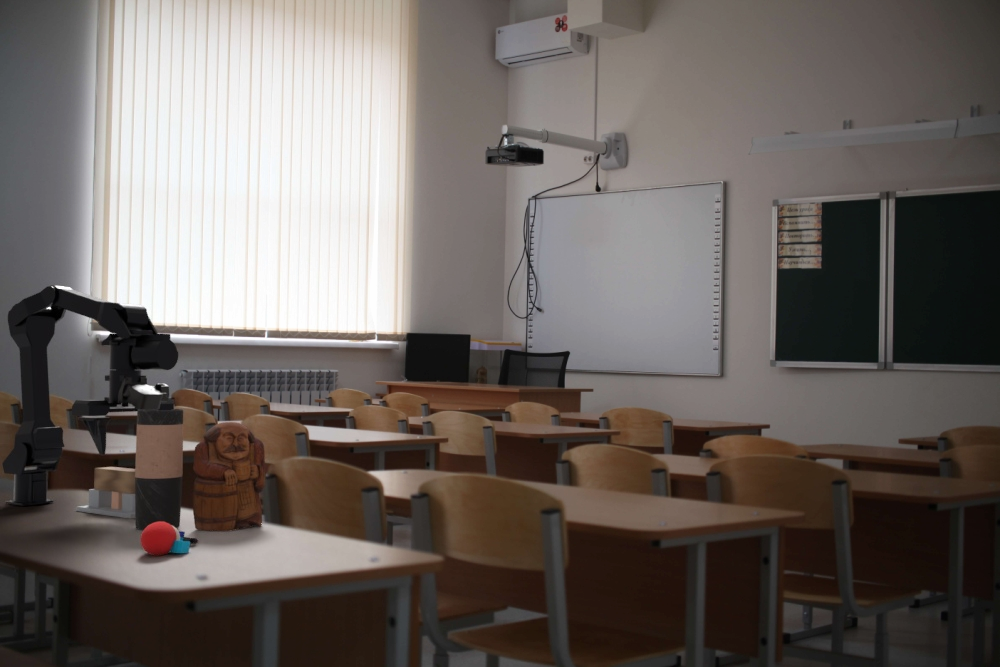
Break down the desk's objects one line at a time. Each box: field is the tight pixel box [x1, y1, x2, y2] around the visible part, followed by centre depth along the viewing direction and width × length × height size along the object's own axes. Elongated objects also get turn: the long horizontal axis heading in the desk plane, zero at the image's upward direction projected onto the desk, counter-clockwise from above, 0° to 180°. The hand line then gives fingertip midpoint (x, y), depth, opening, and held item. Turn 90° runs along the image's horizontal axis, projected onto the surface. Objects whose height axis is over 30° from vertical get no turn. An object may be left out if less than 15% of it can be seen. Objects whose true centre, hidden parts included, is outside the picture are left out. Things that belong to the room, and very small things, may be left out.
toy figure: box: [140, 521, 199, 556], centre depth 147 cm, size 8×5×15 cm
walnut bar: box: [93, 466, 135, 494], centre depth 185 cm, size 12×4×4 cm, turn 57°
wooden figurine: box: [192, 421, 266, 532], centre depth 169 cm, size 12×6×18 cm, turn 135°
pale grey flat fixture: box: [75, 488, 135, 519], centre depth 186 cm, size 16×9×4 cm, turn 57°
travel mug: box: [134, 408, 184, 531], centre depth 168 cm, size 8×8×20 cm
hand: (123, 453), depth 185 cm, fingers open, 9 cm apart
